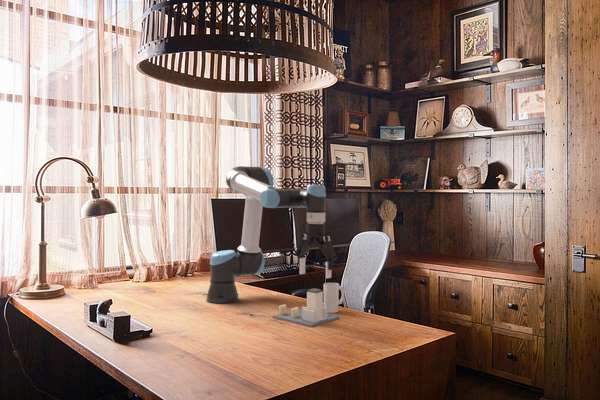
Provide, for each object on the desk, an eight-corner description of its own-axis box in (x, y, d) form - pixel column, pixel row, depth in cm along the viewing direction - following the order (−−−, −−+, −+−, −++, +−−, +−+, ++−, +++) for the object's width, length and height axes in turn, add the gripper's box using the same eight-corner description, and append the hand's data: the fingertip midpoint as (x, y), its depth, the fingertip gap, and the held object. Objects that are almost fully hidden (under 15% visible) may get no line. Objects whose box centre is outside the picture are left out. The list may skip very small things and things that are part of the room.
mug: (327, 313, 212) (328, 285, 212) (320, 310, 218) (320, 283, 218) (347, 311, 216) (348, 284, 216) (340, 308, 222) (340, 281, 222)
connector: (306, 319, 198) (306, 289, 198) (313, 317, 201) (314, 287, 201) (315, 321, 195) (315, 291, 195) (322, 319, 198) (322, 289, 198)
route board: (272, 317, 204) (272, 304, 204) (301, 310, 218) (301, 298, 218) (311, 327, 191) (311, 313, 190) (339, 318, 204) (339, 305, 204)
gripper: (286, 221, 203) (286, 273, 204) (334, 225, 187) (334, 281, 187) (298, 221, 209) (298, 271, 209) (346, 224, 192) (345, 278, 193)
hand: (315, 275), depth 198 cm, fingers open, 13 cm apart
